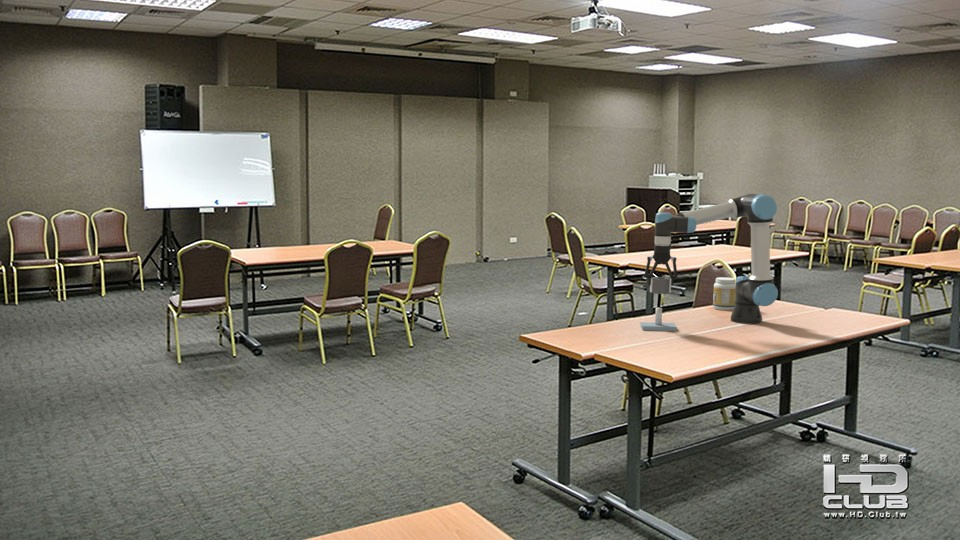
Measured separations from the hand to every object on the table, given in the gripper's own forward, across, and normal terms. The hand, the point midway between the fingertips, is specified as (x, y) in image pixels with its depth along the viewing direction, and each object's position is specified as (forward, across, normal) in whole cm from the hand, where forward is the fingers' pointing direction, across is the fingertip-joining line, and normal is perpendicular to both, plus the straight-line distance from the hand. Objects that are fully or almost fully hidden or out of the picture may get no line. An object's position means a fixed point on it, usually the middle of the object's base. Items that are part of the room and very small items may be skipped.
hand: (660, 292), depth 382 cm
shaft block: (+18, 0, 0) cm, 18 cm away
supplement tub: (+17, -42, -62) cm, 77 cm away
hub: (0, 0, 0) cm, 0 cm away
